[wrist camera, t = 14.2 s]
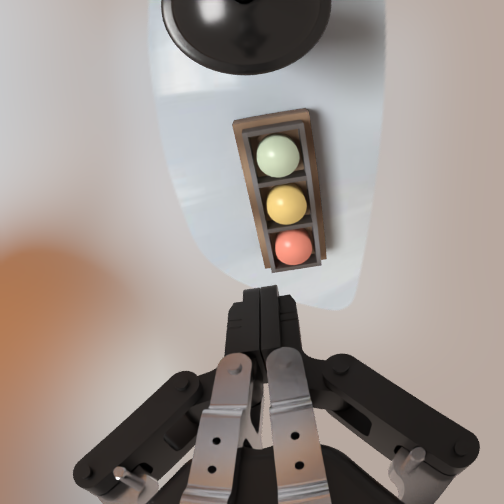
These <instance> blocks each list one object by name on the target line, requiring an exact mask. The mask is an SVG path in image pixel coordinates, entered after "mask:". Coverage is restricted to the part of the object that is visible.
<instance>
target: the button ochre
mask: <svg viewBox="0 0 504 504" xmlns="http://www.w3.org/2000/svg"><path fill="white" fill-rule="evenodd" d="M306 209H307V204H306V200H305V197H304V193H303V191H302V190H301V188H300V187H299V186H298V185H296V184H294V183H287V184H281V185H275V186H273V187H272V188H271V189H270V190H269V192H268V194H267V211H268V214H269V216H270V217H271V218H272V219H273V220H274V221H275V222H277V223H280V224H293V223H295V222H297V221H299V220H300V219H301V218H302V217H303V216H304V214H305V212H306Z"/></svg>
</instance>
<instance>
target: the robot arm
mask: <svg viewBox="0 0 504 504" xmlns="http://www.w3.org/2000/svg"><path fill="white" fill-rule="evenodd" d="M264 383H268V386H269V394H270V404H271V407H270V421H271V430H272V439H273V446H271V447H267V448H264V449H263V448H262V440H261V433H262V420H263V409H264V396H263V384H264ZM313 408H319V409H326V411H327V412H328V413H329V414H330V415H332V416H333V417H334V418H335V419H337V420H338V421H339V422H340V423H342V424H343V425H344V426H346V427H347V428H348V429H349V430H351V431H352V432H353V433H355V434H356V435H357V436H359V437H360V438H361V439H362V440H364V441H365V442H367V443H368V444H369V445H370V446H372V447H373V448H374V449H376V450H377V451H379V452H380V453H381V454H383V455H384V456H385V457H387V458H388V459H389V460H391V461H392V462H391V464H390V466H389V470H388V474H389V478H390V480H391V481H392V482H393V483H394V484H395V485H396V487H397V489H398V493H399V496H398V498H397V497H396V496H395V495H394V494H392V493H391V492H390V491H388V490H387V489H386V488H385V487H383V486H382V485H381V484H380V483H379V482H377V481H376V480H375V479H374V478H372V477H371V476H370V475H369V474H368V473H366V472H365V471H364V470H363V469H362V468H361V467H359V466H358V465H357V464H356V463H355V462H354V461H352V460H351V459H350V458H349V457H348V456H347V455H345V454H344V453H342V452H341V451H339V450H337V449H335V448H332V447H330V446H326V445H321V444H320V441H319V436H318V431H317V426H316V421H315V416H314V411H313ZM194 445H195V449H194V454H193V458H192V459H190V460H189V461H188V462H187V463H185V465H183V466H182V467H181V468H180V470H178V472H177V473H176V474H175V475H174V476H173V477H172V478H171V479H170V480H169V481H168V482H167V483H166V484H165V485H164V486H163V487H162V488H161V489H160V490H159V491H158V488H159V485H158V480H159V479H161V477H163V476H164V475H165V474H166V473H167V472H168V471H169V470H170V469H171V468H172V467H173V466H174V465H175V464H176V463H177V462H178V461H179V460H180V459H181V458H182V457H183V456H184V455H185V454H186V453H187V452H188V451H189V450H190V449H191V448H192V447H193V446H194ZM479 449H480V445H479V441H478V439H477V437H476V436H475V435H474V434H473V433H472V432H470V431H468V430H467V429H465V428H463V427H462V426H460V425H459V424H457V423H455V422H454V421H452V420H451V419H449V418H447V417H446V416H444V415H442V414H441V413H439V412H438V411H436V410H435V409H433V408H431V407H430V406H428V405H427V404H425V403H423V402H422V401H420V400H419V399H417V398H416V397H414V396H413V395H411V394H409V393H408V392H406V391H405V390H403V389H402V388H400V387H399V386H397V385H396V384H394V383H392V382H391V381H389V380H387V379H386V378H385V377H383V376H382V375H380V374H379V373H377V372H376V371H374V370H372V369H371V368H370V367H368V366H367V365H365V364H363V363H362V362H360V361H359V360H357V359H356V358H354V357H353V356H351V355H348V354H336V355H333V356H331V357H329V358H328V359H327V360H318V359H314V358H311V357H309V356H307V355H306V354H305V353H304V352H303V350H302V343H301V335H300V327H299V320H298V314H297V308H296V302H295V300H294V299H293V298H292V297H291V295H284V296H279V292H278V287H277V285H273V286H267V287H261V289H260V288H254V289H247V290H244V291H243V302H236V303H233V306H232V307H231V308H230V310H229V313H228V323H227V333H226V344H225V355H224V358H222V359H221V360H220V362H219V364H218V366H217V368H216V369H214V370H212V371H210V372H208V373H205V374H202V375H199V376H197V375H196V374H195V373H193V372H190V371H182V372H179V373H176V374H175V375H173V376H172V377H171V378H170V379H169V380H168V381H167V382H166V383H164V384H163V385H162V386H161V387H160V388H159V389H158V390H157V391H156V392H155V393H154V394H153V395H152V396H151V397H149V398H148V399H147V400H146V401H145V402H144V403H143V404H142V405H141V406H140V407H139V408H138V409H136V410H135V411H134V412H133V413H132V414H131V415H130V416H129V417H128V418H127V419H126V420H124V421H123V422H122V423H121V424H120V425H119V426H118V427H117V428H116V429H115V430H113V431H112V432H111V433H110V434H109V435H108V436H107V437H106V438H105V439H103V440H102V441H101V442H100V443H99V444H98V445H97V446H96V447H94V448H93V449H92V450H91V451H90V452H89V453H88V454H86V455H85V456H84V457H83V458H82V459H81V460H80V461H79V462H78V463H77V464H76V465H75V467H74V470H73V478H74V480H75V482H76V484H77V485H78V486H80V487H81V488H83V489H85V490H87V491H89V492H90V493H92V494H93V495H95V496H97V497H98V498H99V499H100V501H101V502H102V503H103V504H434V503H435V501H436V500H437V499H438V498H439V497H440V495H441V494H442V493H443V492H444V490H445V489H446V488H447V486H448V485H449V484H450V482H451V481H452V480H453V479H454V478H455V477H456V476H457V475H459V474H460V473H461V472H462V471H463V470H465V469H466V468H467V467H468V466H469V465H470V464H471V463H473V462H474V461H475V459H476V458H477V456H478V454H479Z"/></svg>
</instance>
